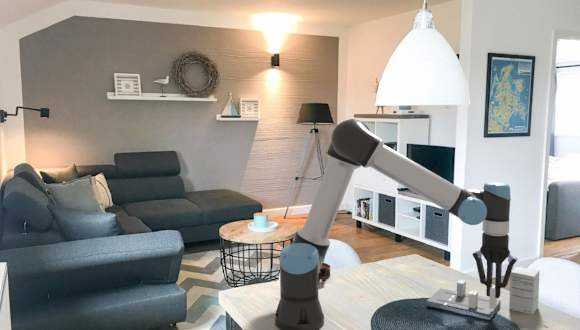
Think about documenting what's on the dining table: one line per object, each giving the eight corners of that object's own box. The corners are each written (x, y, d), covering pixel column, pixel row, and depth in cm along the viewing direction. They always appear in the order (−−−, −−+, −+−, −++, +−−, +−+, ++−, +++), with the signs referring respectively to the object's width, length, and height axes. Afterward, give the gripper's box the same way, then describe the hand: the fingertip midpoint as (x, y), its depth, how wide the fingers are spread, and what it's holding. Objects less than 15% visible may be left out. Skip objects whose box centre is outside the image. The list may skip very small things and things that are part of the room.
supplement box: (514, 302, 163) (516, 266, 162) (538, 307, 158) (540, 270, 157) (508, 309, 157) (509, 271, 156) (533, 315, 153) (534, 276, 151)
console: (489, 321, 148) (490, 315, 148) (426, 307, 159) (426, 301, 159) (500, 305, 160) (500, 299, 160) (440, 293, 172) (440, 287, 171)
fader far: (462, 296, 162) (462, 283, 162) (456, 295, 163) (456, 282, 163) (465, 293, 165) (465, 280, 164) (459, 292, 166) (459, 279, 166)
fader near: (474, 308, 152) (475, 294, 152) (468, 307, 153) (468, 293, 153) (477, 305, 155) (478, 291, 154) (471, 303, 156) (471, 290, 156)
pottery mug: (300, 280, 188) (305, 260, 190) (319, 287, 192) (323, 267, 195) (318, 281, 178) (323, 259, 181) (338, 288, 182) (342, 267, 185)
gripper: (520, 233, 147) (517, 307, 150) (476, 227, 155) (474, 298, 157) (516, 238, 141) (513, 316, 144) (470, 232, 149) (468, 306, 151)
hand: (492, 306), depth 151 cm, fingers closed
